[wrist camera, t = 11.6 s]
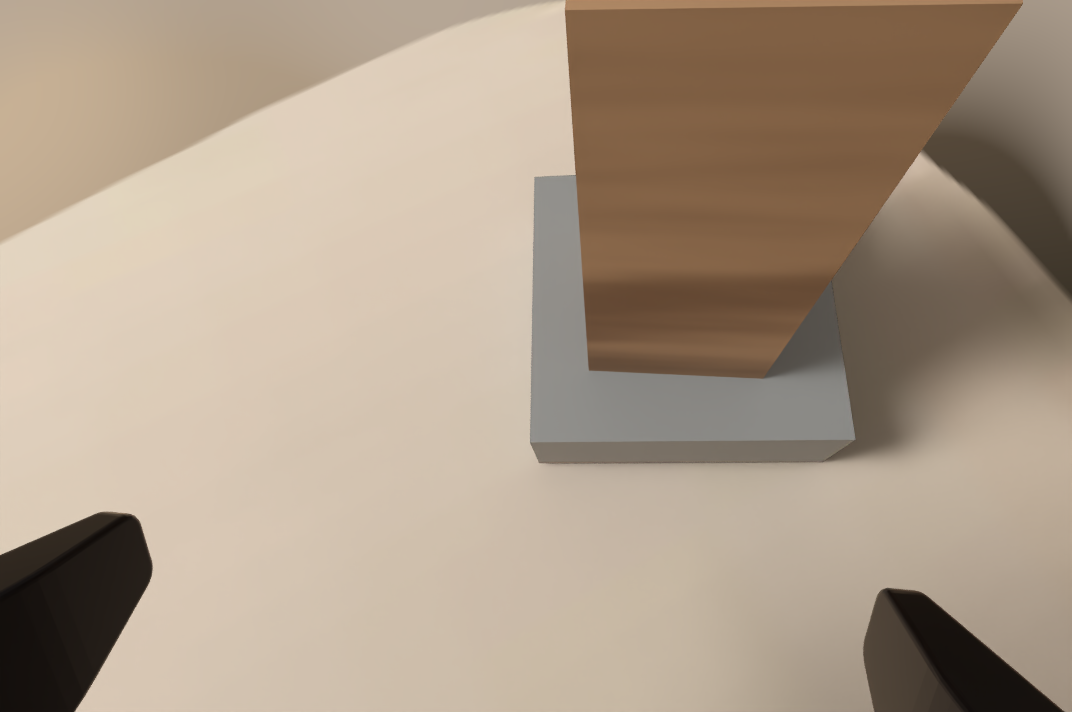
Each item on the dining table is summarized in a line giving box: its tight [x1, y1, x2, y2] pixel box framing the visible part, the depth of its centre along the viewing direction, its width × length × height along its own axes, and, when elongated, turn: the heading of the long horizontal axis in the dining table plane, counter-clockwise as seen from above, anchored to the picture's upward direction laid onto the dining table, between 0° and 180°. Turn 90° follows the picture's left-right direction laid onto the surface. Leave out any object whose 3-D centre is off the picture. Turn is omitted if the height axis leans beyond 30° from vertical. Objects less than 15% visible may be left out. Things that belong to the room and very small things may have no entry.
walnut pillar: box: [565, 0, 1023, 379], centre depth 15 cm, size 5×5×13 cm
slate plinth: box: [530, 175, 856, 463], centre depth 22 cm, size 9×9×3 cm
